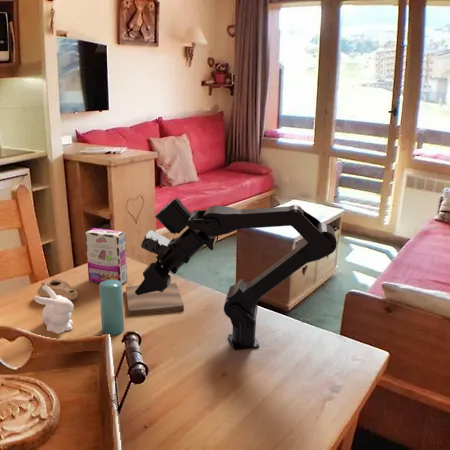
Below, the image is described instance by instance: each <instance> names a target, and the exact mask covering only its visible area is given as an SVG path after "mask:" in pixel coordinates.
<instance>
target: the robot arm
mask: <svg viewBox="0 0 450 450" xmlns="http://www.w3.org/2000/svg"><path fill="white" fill-rule="evenodd" d="M154 217H155V219H156V220H157V221H159V222H160V224H161V225H162V226H163V227H164V228H165V229H166V230H167V232H169V233H170V234H173V235H176V234H180V233H181V234H180V235H179V236H178V237H173V238H172V239H169V238H167V237H165V236H164V235H162V234H160V233H158V232H156V231H155V230H151V229H149V230H148V231H147V232H146V233H145V235H144V238H143V240H142V241H141V244H140V247H141V248H142V249H144V250H145V251H147V252H150V253H151V254H155V255H156V256H155V258H156V261H155V262H151V263H150V264H148V266H147V267H145V269H144V271H143V272H142V276H143V280H142V282H141V283H140V284H139V285H138V286H139V287H138V288H137V290H136V291H135V293H136V294H137V295H141V294H145V293H149V292H154V291H160V292H163V291H164V290H165V289H166V288H167V287H168V285H169V284H170V283H172V282H171V281H172V276H171V274H169V273H170V272H171V273H172V274H173V275H175V274H176V273H178V271H179V269H180V268H181V267H182V266H184V264H185V265H187V264H188V263H189V261H190V260H191V259H192V258H193V257H194V256H195V255H196V254H198V252H199V251H200V250H202V249H203V248H204V247H205V246H206V247H207V248H208V249H209V250H210V251H213V250H215V246H216V239H217V237H221V236H225V235H227V234H230V233H232V232H236V231H238V230H239V231H240V230H243V229H244V230H245V229H258V228H259V229H260V228H273V227H275V228H277V227H292V228H293V229H294V230H295V231H296V232H297V233H298V234H299V235H300V236H301V237H302V239H301V240H300V241H299V243H298V245H296V247H294V249H292V250H291V251H289V252H288V253H287V254H286V255H284V256H283V257H281V258H280V259H278V260H277V261H276V262H275V263H273V264H272V265H271V266H270V267H269V268H267V269H266V270H264V271H263V272H261V274H259V275H258V276H256V277H255V278H254V279H252V280H250V281H246V282H245V281H244V280H243V278H240V279H239V280H238V281H237V282H236V283H235V284H233V285H231V286H229V290H228V291H227V294H226V297H225V302H224V305H223V312H224V314H225V316H226V317H227V318H229V319H230V322H231V325H232V333H230V334H228V335H227V336H228V339H229V341H230V344H231V347H232V348H233V350H245V349H253V348H255V349H256V348H259V347H260V343H259V341H258V339H257V337H256V333H257V330H256V326H257V314H258V304H257V303H258V302H259V300H260V299H261V298H262V297H264V296H265V295H266V294H267V293H268V292H270V291H271V290H273V289H274V288H275V287H277V286H278V285H280V284H281V283H282V282H284V281H285V280H286V279H288V278H289V277H290V276H292V275H293V274H295V273H296V272H298V271H299V269H301V268H302V267H304V266H306V265H307V264H309V263H312V262H316V261H319V260H322V259H324V258H325V257H328V256H330V255H331V254H333V253H334V252H335V251H336V249H337V244H338V241H337V238H336V237H337V236H336V232H335V229H334V228H333V226H332V225H330V224H328V223H326V222H321V221H320V220H319V219H318V218H316V217H315V216H313V215H312V214H310V213H308V212H307V211H306V210H304V209H303V208H302V207H301V206H300V205H296V204H292V205H289V206H278V207H277V206H275V207H274V206H273V207H262V208H259V207H258V208H247V209H246V208H245V209H242V208H241V209H238V208H234V207H232V206H231V207H230V206H224V205H211V206H209V207H208V208H207V209H198V210H197V209H196V210H192V212H191V211H190V210H189V209H188V208H186V206H185V205H184V204H183V203H182V201H181V200H180V199H179V198H178V197H175V198H174V199H172V200H171V201H170V202H169V203H166V205H164V206H163V207H162V208H161V210H159V212H158V213H156V215H155V216H154ZM184 229H185V231H183V230H184Z"/></svg>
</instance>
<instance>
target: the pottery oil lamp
mask: <svg viewBox="0 0 450 450" xmlns="http://www.w3.org/2000/svg"><path fill="white" fill-rule="evenodd" d="M45 285H46V286H48V287H49V288H51V289H52V290H53V291H54V293H55V294H56V295H60V296H62V297H65V298H67V299H68V300H70V301H74V300H75V299H77V298H78V295H79V294H78V291H77V290H76V289H75V288H73V287H71V285H70V284H69V283H68V282H66V281H65V280H62V279H58V278H52V279H51V280H43V281H41V286H39V288H38V289H37V290H36V292H37V294H38V295H37V296H39V297H43V298H51V296H50V295H49V294H48V293H47V291H45V290H43V288H42V287H43V286H45Z"/></svg>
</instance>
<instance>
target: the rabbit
mask: <svg viewBox="0 0 450 450" xmlns="http://www.w3.org/2000/svg"><path fill="white" fill-rule="evenodd" d="M42 288H43V290H45V291H47V293H48V294H49V295H50V296H51V298H44V297H42V296H39V295H33V299H34V301H35V302H36V303H38V304H40V305H45V306H44V307H43V308H42V311H41V312H42V313H41V318H42V321H43V322H44V324H45V325H46V331H47V332H53V333H54V334H55V335H59V334H62V333H63V332H69V331H72V330H73V324H74V322H73V320H72V315H73V310H74V308H75V307H74V304H73V302H72V300H68V299H67V298H65V297H62V296H60V295H56V294H55V293H54V291H53V290H52V289H51V288H49V287H48V286H46V285H45V286H43V287H42Z"/></svg>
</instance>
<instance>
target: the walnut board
mask: <svg viewBox="0 0 450 450" xmlns="http://www.w3.org/2000/svg"><path fill="white" fill-rule="evenodd" d="M139 286H140V285H129V286H125V294H126V301H127V310H128V316H137V315H148V314H157V313H158V314H160V313H169V312H170V313H171V312H182V311H184V309H185V306H184V302H183V299H182V296H181V292H180V291H179V288H178V284H177V282H170V284H169V285H168V287H167V288H166V289H165V290H164V291H163V292H160V291H154V292H149V293H145V294H141V295H137V294H136V293H135V291H136V290H137V288H138V287H139Z"/></svg>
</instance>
